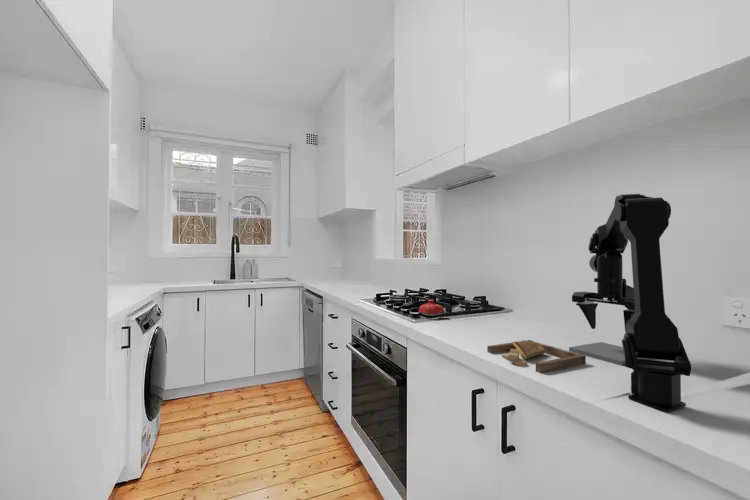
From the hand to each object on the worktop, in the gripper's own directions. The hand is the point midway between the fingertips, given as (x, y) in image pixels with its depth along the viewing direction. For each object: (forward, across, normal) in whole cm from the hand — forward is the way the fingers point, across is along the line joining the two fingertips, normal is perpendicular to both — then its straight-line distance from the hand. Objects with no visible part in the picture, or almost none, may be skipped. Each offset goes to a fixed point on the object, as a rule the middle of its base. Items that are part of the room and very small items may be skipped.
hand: (610, 332), depth 94 cm
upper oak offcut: (+5, +6, +29) cm, 30 cm away
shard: (+8, +4, +22) cm, 24 cm away
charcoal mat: (+6, 0, 0) cm, 6 cm away
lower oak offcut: (+7, +6, +29) cm, 30 cm away
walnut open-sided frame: (+6, +6, +22) cm, 24 cm away
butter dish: (+6, +63, +16) cm, 65 cm away
